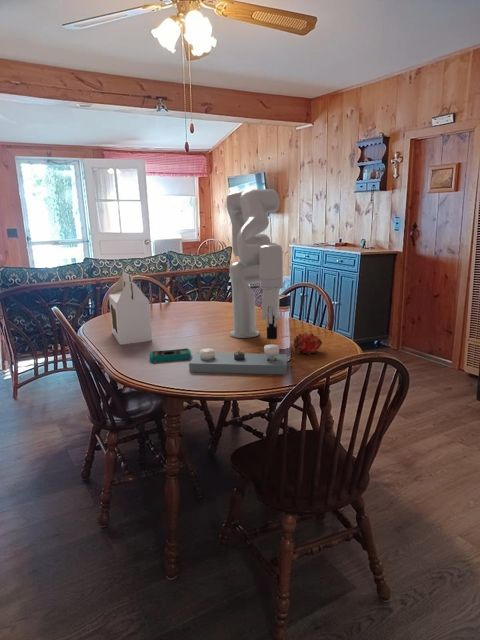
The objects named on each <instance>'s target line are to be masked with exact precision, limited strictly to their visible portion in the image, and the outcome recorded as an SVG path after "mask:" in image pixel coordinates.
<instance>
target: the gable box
mask: <svg viewBox="0 0 480 640" xmlns="http://www.w3.org/2000/svg"><path fill="white" fill-rule="evenodd" d="M134 279H135V276H132V275H131V274H130V273H128V272H127V271H125V270H122V277H120V278H118V280H117V281H116V283H115V284H114V286H113V288H112V290H111V291H110V293H109V295H108V301H109V312H110V321H111V331H112V332H111V333H112V335H113V336H114V337H115V339H116V341H117V342H118V344H119V345H120V346H122V345H130V344H131V343H132V344H138V343H139V344H140V343H144V342H152V341H153V336H152V335H153V334H152V322H151V310H150V308H151V307H150V300H149V299H148V298H147V296H146V295H145V294H144V293H143V291H142V290H141V289H140V288H139V286H138V285H137V284H136V283H135V282H134Z"/></svg>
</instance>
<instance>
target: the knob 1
mask: <svg viewBox="0 0 480 640" xmlns="http://www.w3.org/2000/svg"><path fill="white" fill-rule="evenodd" d="M199 353H200V358H201V359H203V360H210V359H214V358H215V353H216V351H215V349H214V348H209V347H208V348H202V349H200V350H199Z"/></svg>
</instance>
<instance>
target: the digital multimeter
mask: <svg viewBox="0 0 480 640" xmlns="http://www.w3.org/2000/svg"><path fill="white" fill-rule="evenodd" d="M148 356H149V361H150V363H152V364H154V362H156V363H164V362H173V361H175V362H176V361H187V360H188V361H191V360H192V353H191V350H190V349H189V348H188V347H187V348H179V349H177V348H176V349H168V350H167V349H165V350H153V351H151V352H150V353H149V355H148Z"/></svg>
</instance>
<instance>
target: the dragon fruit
mask: <svg viewBox="0 0 480 640" xmlns="http://www.w3.org/2000/svg"><path fill="white" fill-rule="evenodd" d="M322 344H323V341H322V340H321V338H319V336H317V335H314V333H313V332H310V333H308V332H305V333H298V335H296V337H294V339H293V348H294V350H295V351H296V352H300V354H301V353H302V354H301V355H303V354H304V353H305V354H307V355H310V354H312V353H313V354H317V353H318V350H319V349H320V347H321V346H322Z"/></svg>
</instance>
